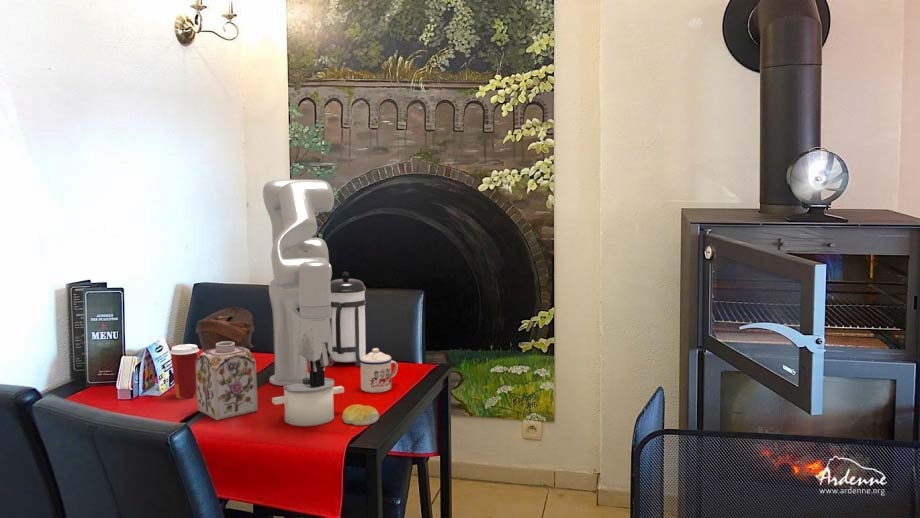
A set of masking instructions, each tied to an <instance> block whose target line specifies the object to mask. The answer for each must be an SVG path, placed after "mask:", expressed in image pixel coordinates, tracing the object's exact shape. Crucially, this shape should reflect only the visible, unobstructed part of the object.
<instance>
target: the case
mask: <svg viewBox="0 0 920 518" xmlns="http://www.w3.org/2000/svg"><path fill="white" fill-rule="evenodd" d="M254 331H255V328H254V319H253V314H252V313H251V312H250V311H249V310H247V309H245V308H242V307H235V306H233V307H226V308H223V309H220V310H217V311H215V312H214V313H211V314H209V315H207V316H206V317H204V318H202V319H200V320H198V322H197V324H196V328H195V333H196V334H198V338H199V341H200V346H201V350H202V353H203V352H204V351H206V350H210V349H214V348H216V344H217V343H219V342H225V341H229V342H234V343H235V347H242V348H246V349H249V351H250V350H251V348H254V344H252V343H251V342H252V341H251V340H252V334H253V333H254ZM250 352H251V351H250Z"/></svg>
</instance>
